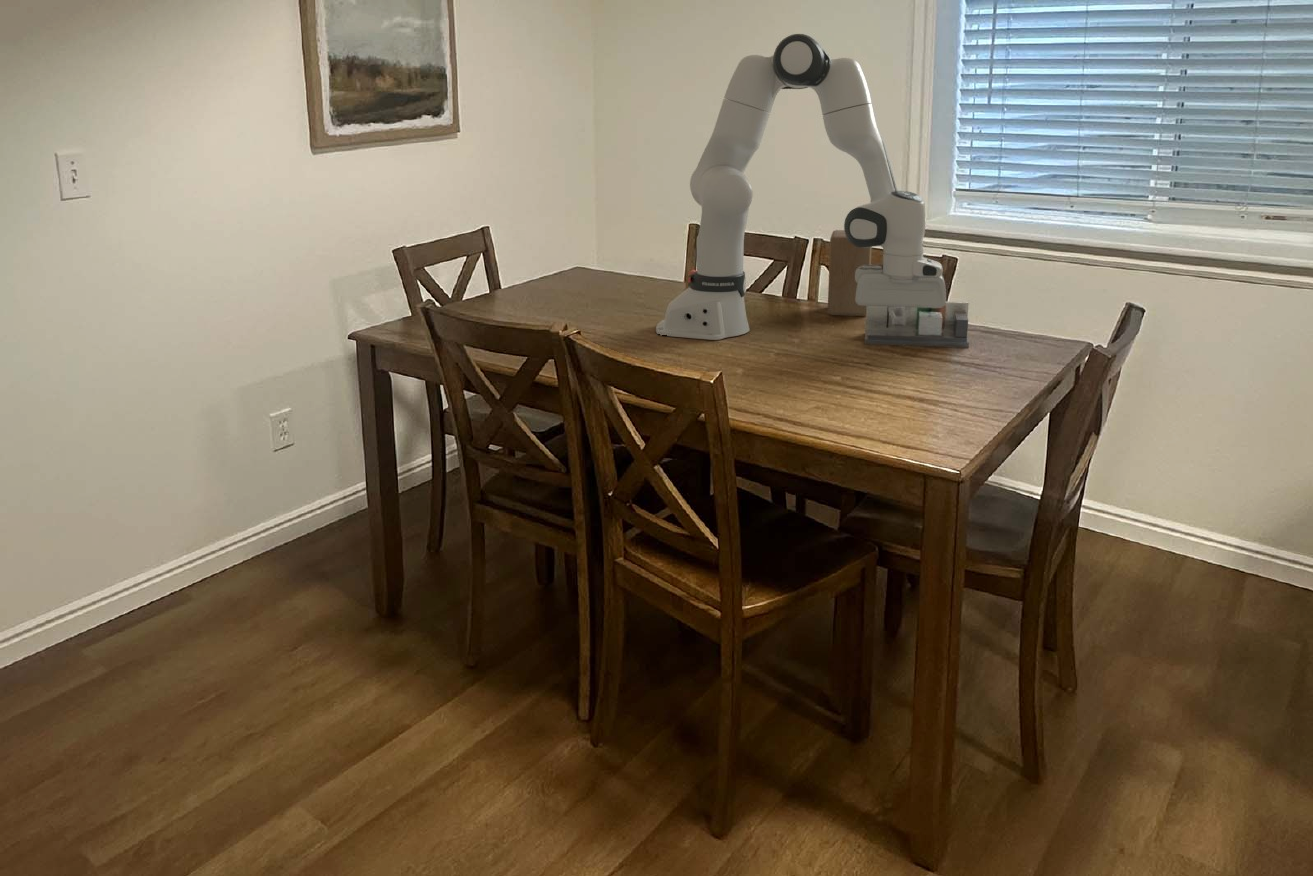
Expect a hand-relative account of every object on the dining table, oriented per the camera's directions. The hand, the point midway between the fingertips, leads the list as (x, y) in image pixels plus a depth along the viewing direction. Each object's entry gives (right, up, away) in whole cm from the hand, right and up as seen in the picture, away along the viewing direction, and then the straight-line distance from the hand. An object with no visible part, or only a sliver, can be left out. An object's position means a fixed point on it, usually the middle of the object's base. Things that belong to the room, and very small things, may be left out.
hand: (898, 325), depth 257 cm
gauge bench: (+4, -3, +3) cm, 6 cm away
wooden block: (-7, +6, +28) cm, 30 cm away
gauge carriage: (+7, -2, 0) cm, 7 cm away
